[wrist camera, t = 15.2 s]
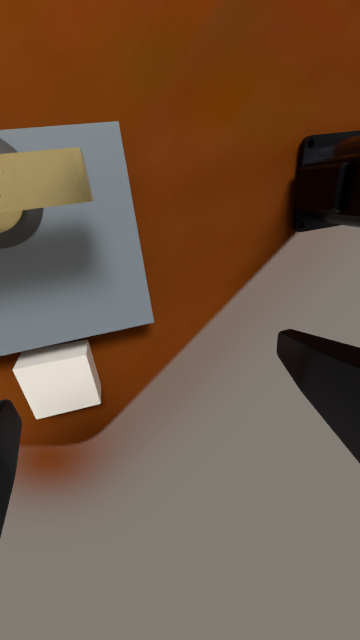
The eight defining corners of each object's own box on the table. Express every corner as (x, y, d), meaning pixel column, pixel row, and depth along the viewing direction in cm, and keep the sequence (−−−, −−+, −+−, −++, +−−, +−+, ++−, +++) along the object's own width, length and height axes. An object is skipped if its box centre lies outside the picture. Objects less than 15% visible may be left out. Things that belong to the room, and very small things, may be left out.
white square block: (87, 337, 21) (86, 354, 19) (101, 383, 24) (100, 403, 21) (22, 349, 20) (12, 369, 18) (43, 396, 23) (36, 419, 20)
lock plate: (115, 124, 15) (117, 113, 13) (148, 308, 21) (154, 323, 19) (-191, 148, 13) (-254, 139, 10) (-56, 351, 19) (-78, 373, 16)
